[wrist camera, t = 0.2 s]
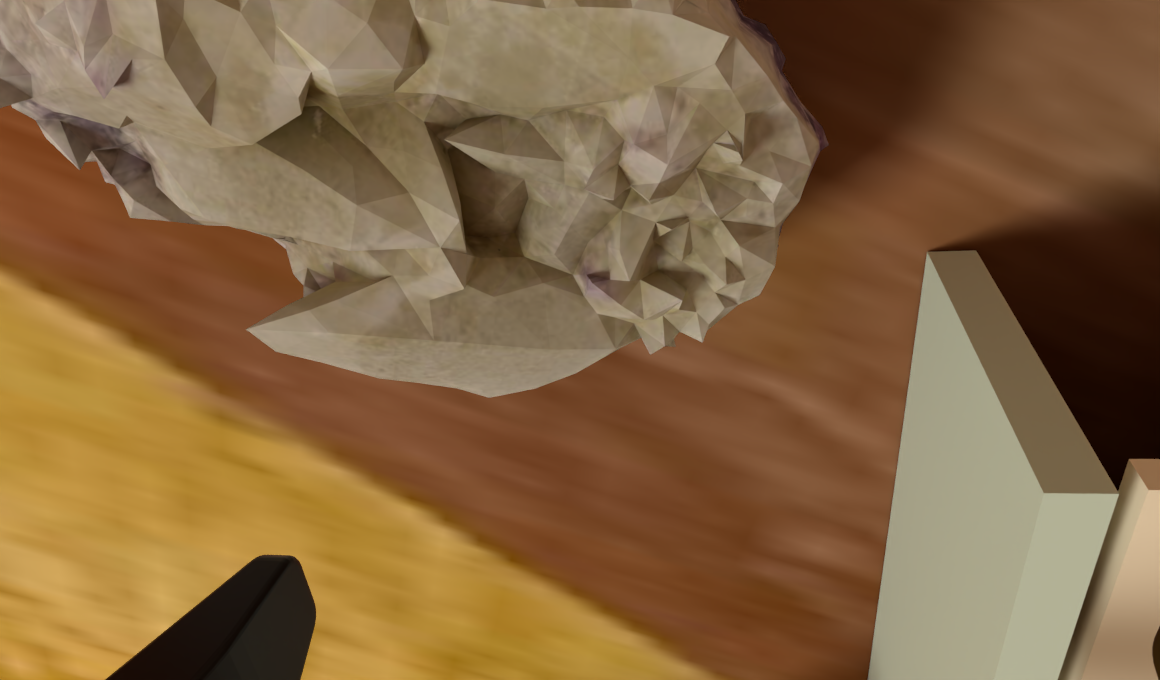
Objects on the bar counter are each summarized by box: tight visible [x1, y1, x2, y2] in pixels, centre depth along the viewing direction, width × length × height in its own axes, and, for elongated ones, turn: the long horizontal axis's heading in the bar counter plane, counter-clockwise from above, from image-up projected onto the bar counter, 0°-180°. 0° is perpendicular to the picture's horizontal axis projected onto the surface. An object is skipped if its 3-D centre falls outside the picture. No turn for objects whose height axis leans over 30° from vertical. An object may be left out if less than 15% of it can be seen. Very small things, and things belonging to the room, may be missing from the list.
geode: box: [0, 0, 829, 398], centre depth 18 cm, size 17×9×15 cm
